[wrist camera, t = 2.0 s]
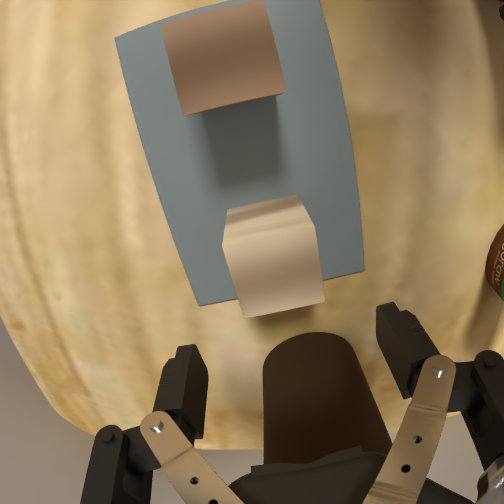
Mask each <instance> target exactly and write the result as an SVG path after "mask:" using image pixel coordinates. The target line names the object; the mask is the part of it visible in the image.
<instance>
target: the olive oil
mask: <svg viewBox="0 0 504 504" xmlns="http://www.w3.org/2000/svg"><path fill="white" fill-rule="evenodd" d="M263 404H264V465H265V464H273V463H289V464H309V463H311V462H313V461H316V460H318V459H320V458H323V457H325V456H327V455H329V454H331V453H334V452H337V451H341V450H345V449H349V448H353V447H357V446H361V448H362V452H376V453H381V454H385V455H387V456H388V454H389V451H390V449H391V447H392V445H393V443H392V441H391V439H390V436H389V434H388V431H387V429H386V426H385V424H384V422H383V419H382V417H381V414H380V412H379V409H378V407H377V405H376V402H375V400H374V398H373V395H372V393H371V391H370V388H369V386H368V383H367V381H366V378H365V376H364V374H363V371H362V369H361V366H360V364H359V361H358V359H357V357H356V354H355V352H354V350H353V348H352V346H351V345H350V344H349V342H348V341H346V340H345V339H344V338H342V337H340V336H338V335H335V334H331V333H324V332H314V333H306V334H301V335H298V336H295V337H292V338H290V339H288V340H286V341H284V342H282V343H281V344H279V345H278V346H276V347H275V348H274V349H273V350H272V351H271V352H270V353H269V354H268V356H267V357H266V359H265V362H264V365H263Z"/></svg>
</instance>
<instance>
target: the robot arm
mask: <svg viewBox="0 0 504 504" xmlns="http://www.w3.org/2000/svg"><path fill="white" fill-rule="evenodd" d="M376 337H377V341H378V344H379V347H380V349H381V351H382V353H383V355H384V357H385V359H386V361H387V364H388V366H389V368H390V370H391V372H392V374H393V377H394V379H395V381H396V383H397V385H398V388H399V390H400V392H401V395H402V397H403V399H407V398H410V397H412V400H411V403H410V405H409V406H408V408H407V411H406V413H405V416H404V418H403V421H402V423H401V426H400V428H399V431H398V433H397V436H396V438H395V440H394V442H393V445H392V447H391V449H390V451H389V454H388V456H387V455H385V454H381V453H376V452H362V448H361V446H357V447H353V448H349V449H345V450H341V451H337V452H334V453H331V454H329V455H327V456H325V457H323V458H320V459H318V460H316V461H313V462H311V463H309V464H289V463H273V464H265V465H257V466H251V473H249V474H246V475H244V476H242V477H240V478H239V479H237V480H235V481H234V482H232V483H231V484H230V485H229V486H227V484H226V483H225V482H224V481H223V480H222V479H221V478H220V477H219V476H218V475H217V473H216V472H215V471H214V470H213V469H212V468H211V467H210V466H209V464H208V463H207V462H206V461H205V460H204V458H203V457H202V456H201V455H200V454H199V453H198V451H197V450H196V449H195V448H194V440H195V439H203V433H204V422H205V411H206V400H207V390H208V371H207V367H206V365H205V363H204V361H203V359H202V357H201V355H200V353H199V350H198V348H197V346H196V345H195V344H191V345H184V346H178V348H177V351H176V355H175V358H172V359H169V360H168V361H167V363H166V364H165V366H164V367H163V370H162V374H161V378H160V382H159V386H158V391H157V395H156V399H155V403H154V408H153V412H152V413H150V414H148V415H147V416H146V417H145V418H144V419H143V420H142V422H141V424H140V426H137V427H134V428H130V429H127V430H124V431H122V430H121V429H120V428H119V427H118V426H116V425H108V426H105V427H103V428H102V429H100V430H99V432H98V433H97V435H96V437H95V440H94V444H93V448H92V453H91V457H90V461H89V465H88V469H87V474H86V479H85V483H84V488H83V493H82V497H81V502H80V504H150V499H151V488H152V477H153V470H156V469H159V468H161V469H162V471H163V473H164V474H165V476H166V477H167V479H168V480H169V482H170V483H171V484H172V486H173V487H174V489H175V490H176V491H177V493H178V494H179V495H180V497H181V498H182V500H183V501H184V502H185V504H474V503H473V502H472V501H471V500H469V499H467V498H465V497H463V496H461V495H459V494H457V493H455V492H453V491H451V490H449V489H447V488H445V487H444V486H442V485H440V484H438V483H436V482H434V481H432V480H430V479H429V478H427V477H426V476H427V474H428V471H429V469H430V466H431V463H432V460H433V458H434V454H435V451H436V449H437V446H438V443H439V440H440V437H441V433H442V430H443V427H444V423H445V420H446V416H447V413H448V412H457V411H461V414H462V416H463V418H464V421H465V423H466V425H467V428H468V430H469V432H470V435H471V437H472V440H473V442H474V445H475V447H476V450H477V452H478V455H479V458H480V460H481V463H482V466H483V469H484V473H483V474H482V475H481V476H480V478H479V481H478V485H477V488H478V498H477V501H476V503H475V504H504V359H503V358H502V356H501V355H500V354H499V353H497V352H495V351H492V350H485V351H482V352H480V353H479V354H477V356H476V357H475V360H474V361H470V362H459V363H457V362H453V360H452V359H450V358H449V357H447V356H444V355H441V354H440V353H439V351H438V350H437V348H436V347H435V345H434V343H433V342H432V340H431V339H430V337H429V336H428V334H427V333H426V331H425V330H424V328H423V327H422V325H421V324H420V322H419V321H418V319H417V318H416V316H415V315H413V314H412V313H410V312H409V311H407V310H404V311H401V312H400V311H399V309H398V308H397V306H396V304H395V303H394V302H390V303H386V304H383V305H379V306H377V308H376Z"/></svg>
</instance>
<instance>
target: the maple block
mask: <svg viewBox="0 0 504 504" xmlns="http://www.w3.org/2000/svg"><path fill="white" fill-rule="evenodd" d="M222 248H223V252H224V255H225V258H226V261H227V265H228V268H229V271H230V274H231V278H232V281H233V284H234V287H235V290H236V294H237V297H238V300H239V303H240V306H241V310H242V313H243V316H244V319H245V318H250V317H255V316H260V315H265V314H270V313H275V312H280V311H285V310H290V309H294V308H299V307H303V306H308V305H312V304H317V303H321V302H325V296H324V288H323V280H322V273H321V266H320V259H319V252H318V245H317V238H316V232H315V226H314V224H313V222H312V220H311V219H310V217H309V215H308V213H307V211H306V209H305V208H304V206H303V204H302V202H301V200H300V199H299V197H298V195H297V194H294V195H290V196H285V197H280V198H276V199H271V200H267V201H262V202H258V203H253V204H249V205H244V206H240V207H236V208H231V209H227V215H226V222H225V229H224V236H223V243H222Z"/></svg>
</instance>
